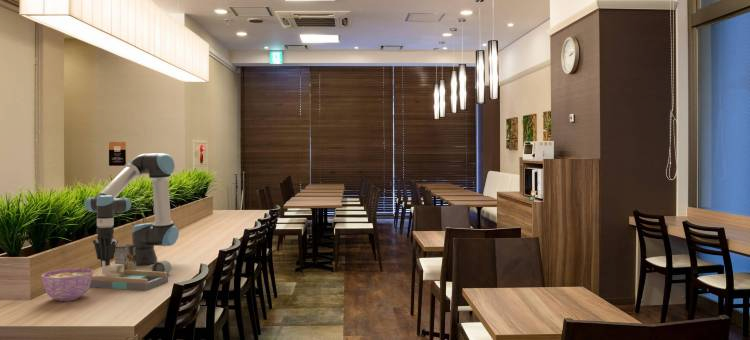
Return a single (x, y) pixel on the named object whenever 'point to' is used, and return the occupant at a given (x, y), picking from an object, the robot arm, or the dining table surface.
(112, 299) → the dining table surface
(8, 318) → the dining table surface
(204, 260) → the dining table surface
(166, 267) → the ceramic mug
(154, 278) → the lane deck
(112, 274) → the maple block
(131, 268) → the coffee box
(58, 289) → the bowl of food
